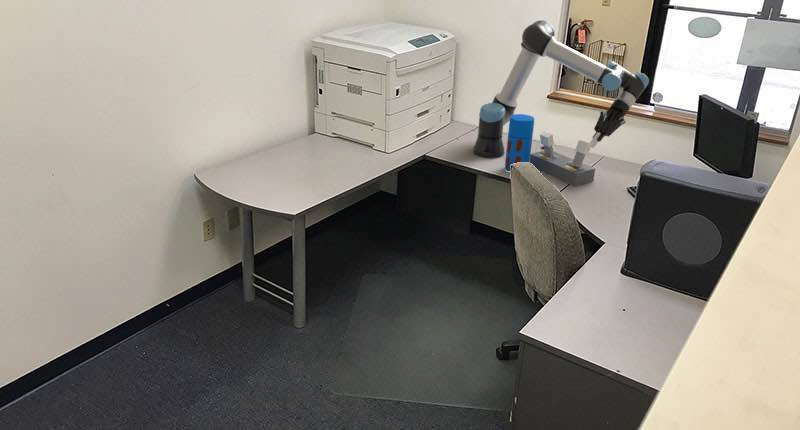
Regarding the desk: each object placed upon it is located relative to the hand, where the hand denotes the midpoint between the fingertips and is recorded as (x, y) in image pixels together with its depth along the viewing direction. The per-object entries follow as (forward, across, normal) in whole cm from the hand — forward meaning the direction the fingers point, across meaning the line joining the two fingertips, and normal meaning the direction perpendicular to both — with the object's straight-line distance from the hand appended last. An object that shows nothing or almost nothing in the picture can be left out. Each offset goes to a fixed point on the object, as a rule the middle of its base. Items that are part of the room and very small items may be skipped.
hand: (591, 145), depth 277 cm
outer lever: (+12, 0, 0) cm, 12 cm away
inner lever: (+12, +16, 0) cm, 20 cm away
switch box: (+16, +8, -4) cm, 18 cm away
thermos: (+27, +21, +6) cm, 35 cm away
